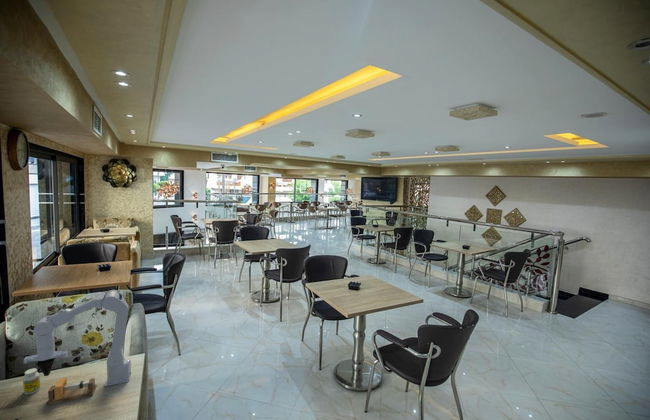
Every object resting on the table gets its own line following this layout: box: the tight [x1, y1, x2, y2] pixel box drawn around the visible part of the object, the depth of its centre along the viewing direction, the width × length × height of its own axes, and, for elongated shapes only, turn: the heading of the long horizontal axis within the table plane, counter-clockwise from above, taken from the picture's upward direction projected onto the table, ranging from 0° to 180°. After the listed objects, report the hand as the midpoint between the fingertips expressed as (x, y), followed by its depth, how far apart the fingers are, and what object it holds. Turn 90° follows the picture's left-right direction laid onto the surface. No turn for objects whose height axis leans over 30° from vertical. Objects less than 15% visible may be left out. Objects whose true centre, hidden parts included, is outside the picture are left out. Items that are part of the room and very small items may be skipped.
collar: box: [54, 377, 68, 400], centre depth 134 cm, size 2×6×6 cm, turn 24°
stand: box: [45, 377, 97, 406], centre depth 135 cm, size 16×7×5 cm, turn 114°
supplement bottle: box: [22, 367, 41, 395], centre depth 137 cm, size 5×5×10 cm
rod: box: [54, 379, 94, 393], centre depth 135 cm, size 16×2×2 cm, turn 114°
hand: (47, 374), depth 133 cm, fingers closed
